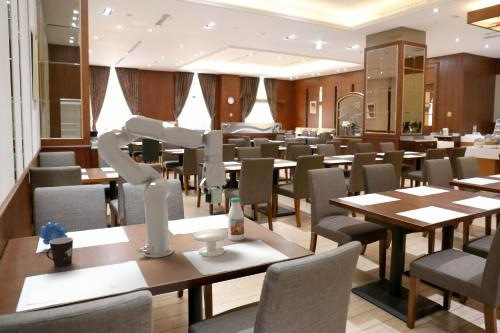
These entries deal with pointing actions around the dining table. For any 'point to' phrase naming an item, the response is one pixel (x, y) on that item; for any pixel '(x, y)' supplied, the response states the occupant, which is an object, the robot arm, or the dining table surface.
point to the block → (216, 195)
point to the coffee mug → (61, 251)
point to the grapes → (52, 232)
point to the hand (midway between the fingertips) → (213, 201)
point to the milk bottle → (235, 221)
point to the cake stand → (211, 241)
